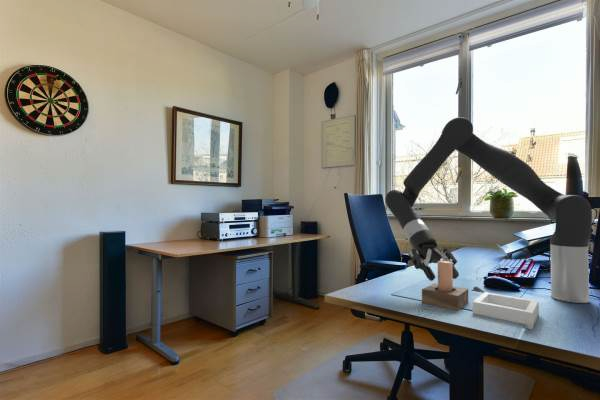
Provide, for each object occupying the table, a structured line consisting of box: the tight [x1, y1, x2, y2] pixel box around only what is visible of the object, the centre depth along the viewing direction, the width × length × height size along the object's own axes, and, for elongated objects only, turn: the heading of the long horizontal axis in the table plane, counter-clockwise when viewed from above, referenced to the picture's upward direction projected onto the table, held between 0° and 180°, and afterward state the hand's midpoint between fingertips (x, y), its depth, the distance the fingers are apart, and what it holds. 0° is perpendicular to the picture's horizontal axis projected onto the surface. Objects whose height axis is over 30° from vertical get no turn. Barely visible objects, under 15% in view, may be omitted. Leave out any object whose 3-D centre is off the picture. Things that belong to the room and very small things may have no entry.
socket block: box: [421, 282, 469, 312], centre depth 94 cm, size 10×10×5 cm
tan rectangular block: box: [437, 260, 454, 292], centre depth 94 cm, size 4×4×12 cm
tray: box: [472, 291, 540, 330], centre depth 85 cm, size 13×13×4 cm
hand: (445, 278), depth 94 cm, fingers open, 8 cm apart
